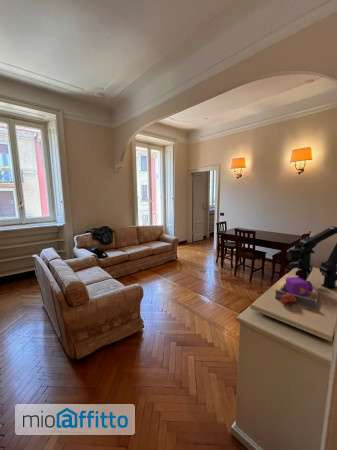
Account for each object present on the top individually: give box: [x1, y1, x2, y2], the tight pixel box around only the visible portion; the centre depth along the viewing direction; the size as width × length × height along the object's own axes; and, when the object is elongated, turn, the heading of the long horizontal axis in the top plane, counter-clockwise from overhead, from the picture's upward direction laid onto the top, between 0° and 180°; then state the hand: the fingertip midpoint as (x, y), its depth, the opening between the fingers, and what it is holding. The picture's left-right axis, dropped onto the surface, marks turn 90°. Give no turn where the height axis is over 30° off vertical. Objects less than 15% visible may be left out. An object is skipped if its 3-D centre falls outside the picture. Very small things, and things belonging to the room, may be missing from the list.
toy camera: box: [285, 276, 314, 298], centre depth 123 cm, size 11×14×10 cm
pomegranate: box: [280, 291, 297, 310], centre depth 111 cm, size 7×7×10 cm
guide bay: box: [275, 282, 321, 311], centre depth 120 cm, size 20×19×5 cm
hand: (303, 282), depth 132 cm, fingers open, 8 cm apart
